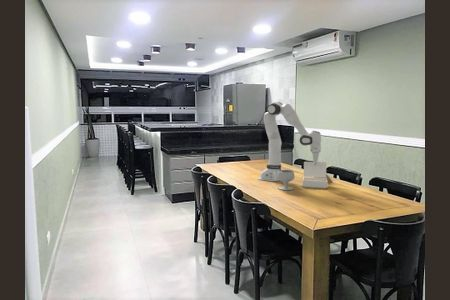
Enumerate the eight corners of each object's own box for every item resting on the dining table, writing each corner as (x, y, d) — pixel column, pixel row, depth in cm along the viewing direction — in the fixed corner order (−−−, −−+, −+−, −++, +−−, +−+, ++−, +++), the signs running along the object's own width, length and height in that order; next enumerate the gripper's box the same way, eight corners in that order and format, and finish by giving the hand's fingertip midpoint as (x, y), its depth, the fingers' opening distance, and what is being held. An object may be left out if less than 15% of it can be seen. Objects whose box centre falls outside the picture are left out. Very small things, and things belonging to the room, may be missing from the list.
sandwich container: (333, 181, 302) (333, 165, 300) (319, 182, 297) (319, 166, 295) (327, 179, 310) (328, 163, 308) (313, 180, 305) (314, 164, 303)
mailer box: (302, 187, 276) (302, 180, 275) (302, 183, 289) (302, 177, 289) (327, 188, 271) (327, 181, 271) (326, 185, 285) (326, 178, 284)
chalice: (297, 189, 267) (298, 171, 265) (284, 191, 260) (284, 173, 258) (286, 186, 279) (287, 169, 277) (273, 188, 272) (273, 170, 271)
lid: (304, 161, 292) (304, 161, 293) (303, 176, 288) (303, 176, 289) (326, 162, 288) (326, 162, 288) (326, 177, 284) (326, 177, 284)
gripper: (311, 148, 297) (311, 163, 299) (311, 150, 278) (311, 166, 279) (318, 148, 296) (318, 163, 297) (319, 150, 276) (319, 167, 278)
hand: (315, 165), depth 288 cm, fingers closed
